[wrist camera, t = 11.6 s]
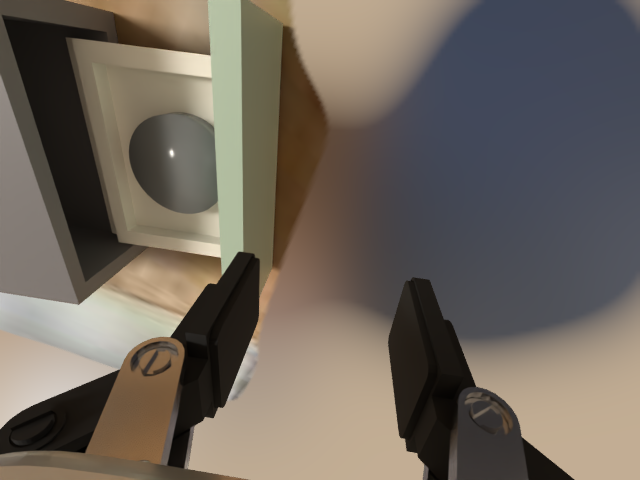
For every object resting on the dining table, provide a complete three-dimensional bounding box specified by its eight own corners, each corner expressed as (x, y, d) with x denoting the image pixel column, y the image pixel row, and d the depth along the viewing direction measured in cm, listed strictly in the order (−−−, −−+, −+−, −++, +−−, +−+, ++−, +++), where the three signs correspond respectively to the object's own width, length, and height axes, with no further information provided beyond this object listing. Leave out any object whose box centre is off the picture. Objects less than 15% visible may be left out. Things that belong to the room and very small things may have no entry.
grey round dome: (234, 121, 21) (225, 124, 20) (233, 213, 25) (225, 221, 23) (136, 104, 22) (121, 106, 20) (148, 197, 25) (136, 205, 24)
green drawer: (283, 23, 20) (240, -5, 13) (272, 267, 29) (244, 332, 22) (77, -2, 21) (-78, -43, 13) (130, 245, 30) (56, 302, 22)
